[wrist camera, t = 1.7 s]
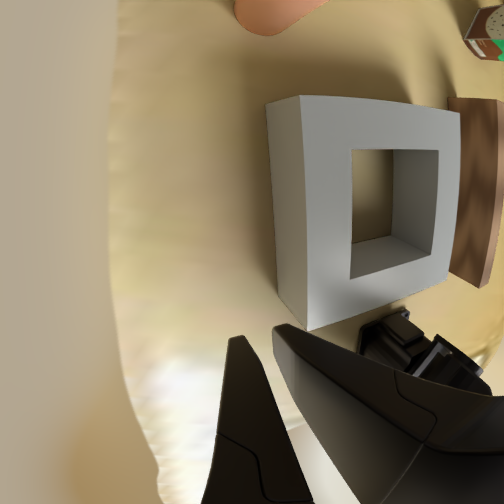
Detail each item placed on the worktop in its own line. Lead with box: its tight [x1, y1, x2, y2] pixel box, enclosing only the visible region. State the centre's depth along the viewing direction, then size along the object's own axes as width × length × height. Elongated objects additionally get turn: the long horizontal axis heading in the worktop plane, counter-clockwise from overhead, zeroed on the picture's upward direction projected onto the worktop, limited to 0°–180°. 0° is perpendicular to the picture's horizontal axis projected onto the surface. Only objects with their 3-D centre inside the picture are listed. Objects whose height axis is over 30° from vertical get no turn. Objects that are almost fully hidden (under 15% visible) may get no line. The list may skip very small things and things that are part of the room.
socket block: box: [265, 95, 461, 331], centre depth 20 cm, size 14×14×5 cm
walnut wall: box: [448, 97, 504, 288], centre depth 23 cm, size 18×2×6 cm, turn 5°
